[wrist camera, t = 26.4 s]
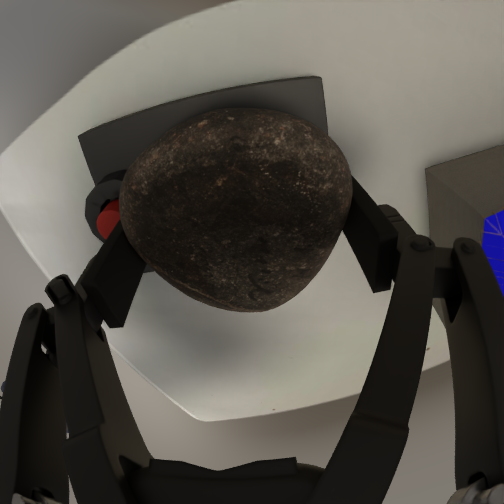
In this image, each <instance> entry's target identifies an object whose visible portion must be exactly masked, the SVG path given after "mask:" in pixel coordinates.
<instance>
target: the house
mask: <svg viewBox="0 0 504 504" xmlns="http://www.w3.org/2000/svg"><path fill="white" fill-rule="evenodd" d="M425 172H426V181H427V191H428V204H429V222H430V239H431V240H432V241H433V242H434V243H435V246H436V247H446V248H452V247H453V243H454V241H455V239H457V238H460V237H466V238H471V239H473V240H475V241H476V242H478V243H479V244H480V245H481V247H482V248H483V250H484V252H485V255H486V257H487V259H488V261H489V263H490V265H491V267H492V270H493V272H494V274H495V276H496V279H497V281H498V284H499V286H500V288H501V291H502V293H503V296H504V145H501V146H497V147H494V148H491V149H487V150H484V151H481V152H477V153H474V154H471V155H468V156H464V157H461V158H458V159H455V160H451V161H448V162H445V163H442V164H439V165H435V166H432V167H429V168H426V169H425ZM432 305H433V306H434V308H435V310H436V312H437V313H438V315H439V317H440V319H441V321H442V323H443V324H444V326H445V321H444V316H443V311H442V306H441V301H440V298H433V301H432ZM445 328H446V326H445Z"/></svg>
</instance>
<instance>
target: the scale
mask: <svg viewBox="0 0 504 504" xmlns="http://www.w3.org/2000/svg"><path fill="white" fill-rule="evenodd" d="M226 108H257V109H268V110H275V111H279V112H284V113H287V114H290V115H293V116H296V117H298V118H301V119H303V120H306V121H308V122H310V123H312V124H313V125H315V126H317V127H318V128H320V129H321V130H322V131H324V132H325V133H326V134H327V135H328V126H327V117H326V108H325V100H324V92H323V85H322V78H321V77H318V76H309V77H298V78H289V79H280V80H273V81H266V82H259V83H253V84H247V85H241V86H236V87H230V88H225V89H221V90H216V91H211V92H207V93H202V94H198V95H194V96H190V97H186V98H182V99H179V100H175V101H171V102H168V103H164V104H161V105H158V106H154V107H151V108H148V109H145V110H142V111H139V112H136V113H133V114H130V115H127V116H124V117H121V118H119V119H116V120H113V121H110V122H108V123H105V124H103V125H100V126H98V127H95V128H93V129H90V130H88V131H86V132H84V133H82V134H81V135H79V136H78V139H79V142H80V145H81V148H82V151H83V154H84V156H85V159H86V162H87V165H88V167H89V170H90V173H91V176H92V178H93V181H94V183H95V187H94V189H93V190H92V191H91V193H90V194H89V195H88V197H87V199H86V207H85V217H86V220H87V222H88V224H89V226H90V229H91V231H92V233H93V234H94V235H95V236H96V237H97V238H98V239H99V240H101V241H102V242H103V243H104V242H105V241H106V239H105V238H104V237H103V236H102V235H101V234H100V233H99V231H98V228H97V219H98V216H99V215H100V213H101V212H102V211H103V210H104V208H105V207H106V206H107V205H108V204H109V203H110V202H111V201H113V200H116V199H119V196H120V189H121V185H122V181H123V178H124V176H125V174H126V172H127V170H128V169H129V167H130V166H131V164H132V163H133V162H134V161H135V160H136V158H137V157H138V156H139V155H140V154H141V153H142V152H143V151H144V150H145V149H146V148H147V147H149V146H150V145H151V144H152V143H153V142H155V141H156V140H157V139H158V138H160V137H161V136H163V135H164V134H165V133H166V132H168V131H169V130H171V129H172V128H174V127H175V126H177V125H179V124H181V123H183V122H185V121H187V120H189V119H191V118H193V117H196V116H198V115H201V114H204V113H207V112H210V111H214V110H218V109H226ZM147 272H154V270H153V269H152V268H151V267H150V266H149V265H148V264H147V265H146V267H145V270H144V272H143V273H147Z"/></svg>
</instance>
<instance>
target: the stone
mask: <svg viewBox="0 0 504 504" xmlns="http://www.w3.org/2000/svg"><path fill="white" fill-rule="evenodd" d="M352 192H353V188H352V178H351V172H350V169H349V166H348V163H347V161H346V159H345V157H344V155H343V153H342V151H341V150H340V148H339V147H338V146H337V145H336V143H335V142H334V141H333V140H332V139H331V138H330V137H329V136H328V135H327V134H326V133H325V132H324V131H322V130H321V129H320V128H318V127H317V126H315V125H313V124H312V123H310V122H308V121H306V120H303V119H301V118H298V117H296V116H293V115H290V114H287V113H284V112H279V111H275V110H268V109H257V108H226V109H218V110H214V111H210V112H207V113H204V114H201V115H198V116H196V117H193V118H191V119H189V120H187V121H185V122H183V123H181V124H179V125H177V126H175V127H174V128H172V129H171V130H169V131H168V132H166V133H165V134H164V135H163V136H161V137H160V138H158V139H157V140H156V141H155V142H153V143H152V144H151V145H150V146H149V147H147V148H146V149H145V150H144V151H143V152H142V153H141V154H140V155H139V156H138V157H137V158H136V160H135V161H134V162H133V163H132V164H131V166H130V167H129V169H128V170H127V172H126V174H125V176H124V178H123V181H122V185H121V189H120V196H119V213H120V220H121V223H122V226H123V229H124V232H125V235H126V237H127V239H128V241H129V243H130V244H131V246H132V247H133V248H134V250H135V251H136V252H137V253H138V255H139V256H140V257H141V258H142V259H143V260H144V261H145V262H146V263H147V264H148V265H149V266H150V267H151V268H152V269H153V270H154V271H155V272H156V273H157V274H158V275H160V276H161V277H162V278H163V279H164V280H166V281H167V282H168V283H169V284H171V285H172V286H173V287H175V288H176V289H178V290H179V291H181V292H183V293H184V294H186V295H187V296H189V297H191V298H193V299H195V300H197V301H200V302H202V303H204V304H207V305H209V306H213V307H216V308H220V309H224V310H229V311H237V312H263V311H268V310H270V309H274V308H276V307H278V306H280V305H282V304H284V303H286V302H287V301H289V300H290V299H292V298H293V297H295V296H296V295H297V294H298V293H299V292H300V291H302V290H303V289H304V288H305V287H306V286H307V285H308V284H309V283H310V281H311V280H312V279H313V278H314V277H315V276H316V274H317V273H318V272H319V271H320V269H321V268H322V266H323V265H324V263H325V262H326V260H327V259H328V257H329V255H330V254H331V252H332V250H333V248H334V246H335V244H336V242H337V240H338V238H339V236H340V234H341V231H342V229H343V227H344V225H345V222H346V220H347V217H348V213H349V210H350V206H351V200H352Z"/></svg>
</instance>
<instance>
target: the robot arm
mask: <svg viewBox="0 0 504 504" xmlns="http://www.w3.org/2000/svg"><path fill="white" fill-rule="evenodd" d="M351 178H352V188H353V192H352V200H351V206H350V210H349V213H348V217H347V220H346V222H345V225H344V227H343V229H342V230H343V232H344V234H345V236H346V238H347V240H348V242H349V244H350V246H351V248H352V250H353V252H354V254H355V256H356V258H357V260H358V262H359V264H360V266H361V268H362V270H363V272H364V274H365V276H366V278H367V281H368V283H369V285H370V287H371V289H372V291H373V293H377V292H381V291H386V290H390V288H391V283H392V279H393V281H394V283H395V284H394V288H393V292H392V296H391V300H390V304H389V308H388V311H387V315H386V319H385V322H384V326H383V329H382V332H381V336H380V339H379V342H378V345H377V348H376V352H375V355H374V358H373V361H372V364H371V366H370V369H369V372H368V375H367V378H366V380H365V383H364V386H363V388H362V391H361V394H360V396H359V399H358V401H357V404H356V406H355V409H354V411H353V413H352V414H351V416H350V418H349V420H348V423H347V425H346V427H345V429H344V431H343V434H342V436H341V438H340V440H339V442H338V444H337V446H336V448H335V450H334V453H333V454H332V457H331V459H330V460H329V462H328V465H327V466H326V468H325V469H324V468H321V467H318V466H314V465H309V464H302V463H297V460H296V457H291V458H282V459H273V460H261V461H255V462H251V463H248V464H244V465H241V466H237V467H233V468H229V469H225V470H220V471H216V470H211V469H207V468H204V467H199V466H196V465H193V464H189V463H186V462H182V461H172V460H160V459H154V458H153V457H152V455H151V454H150V453H149V451H148V449H147V447H146V445H145V443H144V441H143V438H142V436H141V434H140V432H139V429H138V427H137V424H136V422H135V420H134V417H133V415H132V412H131V410H130V407H129V404H128V402H127V399H126V396H125V394H124V391H123V388H122V386H121V382H120V380H119V377H118V374H117V371H116V368H115V364H114V361H113V358H112V355H111V352H110V348H109V345H108V341H107V338H106V334H105V331H104V330H103V328H102V327H101V324H102V322H103V319H104V321H105V322H106V324H107V325H108V327H109V328H120V327H123V326H124V323H125V321H126V318H127V315H128V312H129V309H130V306H131V304H132V301H133V298H134V296H135V293H136V290H137V288H138V285H139V282H140V280H141V277H142V275H143V272H144V270H145V267H146V265H147V263H146V262H145V261H144V260H143V259H142V258H141V257H140V256H139V255H138V253H137V252H136V251H135V250H134V248H133V247H132V246H131V244H130V243H129V241H128V239H127V237H126V235H125V232H124V229H123V226H122V223H121V220H120V219H119V221H118V222H117V224H116V225H115V227H114V228H113V230H112V231H111V233H110V234H109V236H108V237H107V239H106V241H105V242H104V244H103V245H102V247H101V248H100V250H99V252H98V253H97V254H96V255H95V256H94V257H93V258H92V259H91V260H90V261H89V263H88V264H87V266H86V269H84V271H83V274H81V276H80V278H79V279H78V281H77V283H76V285H75V286H74V285H73V283H72V282H71V280H70V279H69V277H68V275H66V274H62V275H59V276H57V277H55V278H54V279H52V280H51V281H50V282H49V283H48V285H47V286H46V288H45V292H46V293H47V295H48V297H49V298H50V300H51V301H52V302H53V304H54V307H52V308H49V309H47V310H46V309H45V308H44V307H43V305H42V304H41V303H35V304H33V305H31V306H30V307H29V308H28V309H27V310H26V312H25V313H24V316H23V318H22V321H21V324H20V327H19V331H18V334H17V337H16V340H15V344H14V348H13V351H12V355H11V359H10V363H9V367H8V372H7V376H6V380H5V385H4V390H3V396H2V397H1V396H0V399H2V401H1V408H0V504H69V478H70V482H71V485H72V488H73V492H74V495H75V498H76V500H77V503H78V504H382V502H383V500H384V498H385V495H386V493H387V491H388V489H389V486H390V484H391V482H392V479H393V477H394V474H395V471H396V469H397V466H398V464H399V461H400V459H401V456H402V453H403V450H404V447H405V445H406V441H407V438H408V433H409V427H408V422H409V418H410V414H411V411H412V407H413V404H414V400H415V396H416V392H417V388H418V384H419V379H420V375H421V371H422V366H423V361H424V356H425V350H426V345H427V338H428V332H429V325H430V318H431V310H432V301H433V298H440V301H441V306H442V311H443V316H444V321H445V326H446V332H447V338H448V345H449V352H450V359H451V368H452V377H453V388H454V403H455V479H456V490H457V491H456V492H455V493H454V494H453V495H452V496H451V497H450V499H449V501H448V502H447V504H504V296H503V293H502V291H501V288H500V286H499V284H498V281H497V279H496V276H495V274H494V272H493V270H492V267H491V265H490V263H489V261H488V259H487V257H486V255H485V252H484V250H483V248H482V247H481V245H480V244H479V243H478V242H476V241H475V240H473V239H471V238H466V237H460V238H457V239H455V241H454V243H453V247H452V248H446V247H436V246H435V243H434V242H433V241H432V240H431V239H430V238H428V237H426V236H423V235H417V234H416V233H415V232H414V230H413V229H412V228H411V227H410V225H409V224H408V223H407V222H406V221H405V220H404V218H403V217H402V216H400V214H399V213H398V211H397V210H396V209H395V208H393V207H391V206H389V205H387V204H385V205H377V204H376V203H375V202H374V201H373V199H372V198H371V197H370V196H369V195H368V193H367V192H366V191H365V190H364V189H363V188H362V186H361V185H360V184H359V183H358V182H357V181H356V180H355V178H354V177H353V176H352V175H351ZM41 344H42V345H43V346H44V347H45V348H46V349H47V351H46V354H45V353H44V352H43V351H42V348H41ZM66 422H67V423H66ZM67 430H68V432H69V438H68V439H66V438H67V437H66V433H67ZM68 475H69V477H68Z"/></svg>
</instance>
